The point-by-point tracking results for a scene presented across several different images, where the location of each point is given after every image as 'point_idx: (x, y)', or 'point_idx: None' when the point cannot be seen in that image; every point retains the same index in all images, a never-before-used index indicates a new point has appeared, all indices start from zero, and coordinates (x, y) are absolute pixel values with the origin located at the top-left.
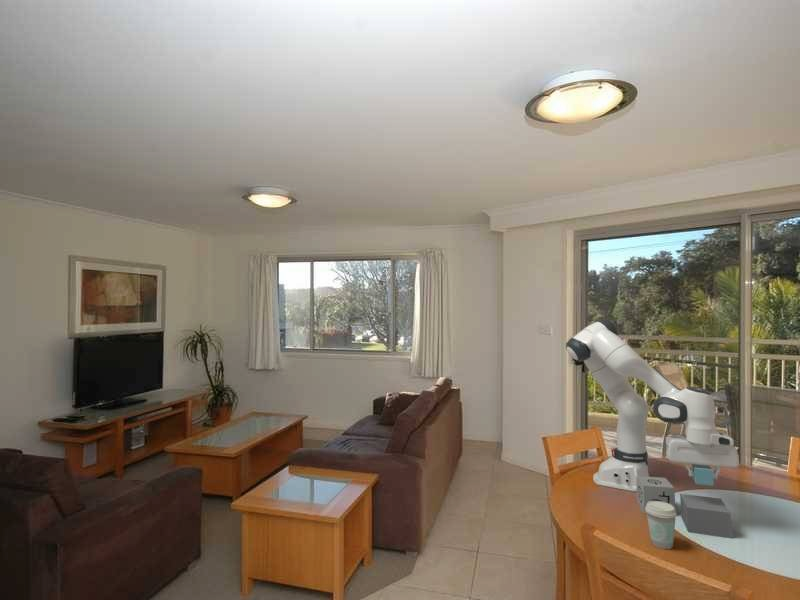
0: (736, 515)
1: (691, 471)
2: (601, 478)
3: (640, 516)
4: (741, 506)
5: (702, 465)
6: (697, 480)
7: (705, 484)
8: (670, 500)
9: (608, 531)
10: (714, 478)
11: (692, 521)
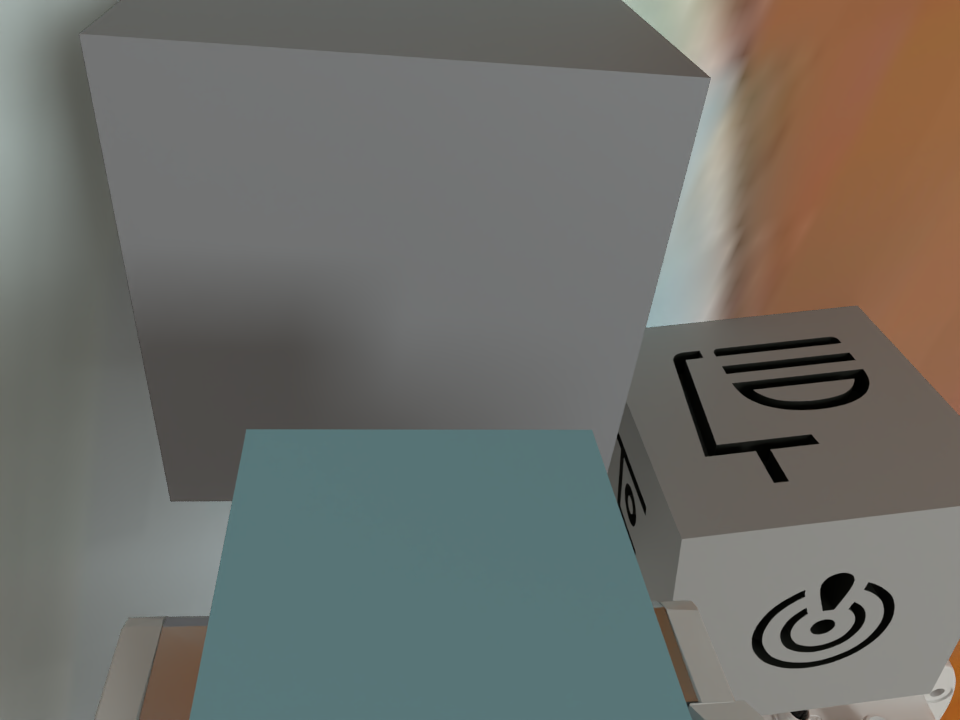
0: (82, 490)
1: (691, 708)
2: (929, 709)
3: (925, 240)
4: (34, 634)
5: None
6: (575, 488)
7: (410, 437)
8: (681, 423)
9: None
10: (188, 618)
11: (596, 21)
